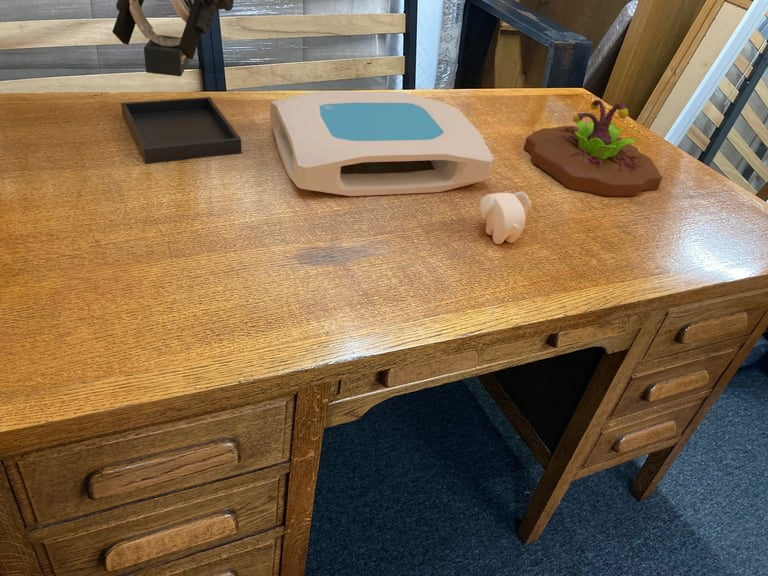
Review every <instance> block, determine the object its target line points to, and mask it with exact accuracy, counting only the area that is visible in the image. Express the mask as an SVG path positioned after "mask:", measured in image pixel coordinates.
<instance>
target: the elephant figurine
mask: <svg viewBox="0 0 768 576" xmlns="http://www.w3.org/2000/svg"><path fill="white" fill-rule="evenodd" d="M531 208H532V203H531V200H530V198H529V196H528V194H526V192H524V191H522V190H521V191H517V192H516V193H511V192H494V193H487V194H486V195H484V196H483V197H482V198H481V199H480V202H479V207H478V209H479V213H480V216H481V217H482V219H485V218H486V224H485V225H486V226H485V233H486V235H488V236H492V241H493V243H494V244H495V245H501V244H503V243H504V241H506V242H507V243H508V244H513V243H515V242H516V241H517V240H518V239H519V237H520V236H521V234H522V233H523V231H524V228H525V226H526V225H525V224H526V215H527V214H528V213H529V212H530V211H531Z"/></svg>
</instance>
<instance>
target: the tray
mask: <svg viewBox="0 0 768 576" xmlns="http://www.w3.org/2000/svg"><path fill="white" fill-rule="evenodd" d="M120 107H121V115H122V118H123V120H124V122H125V124H126V125H127V128H128V130H129V132H130V134H131V137H132V139H133V141H134V142H135V145H136V148H137V149H138V151H139V153H140V155H141V157H142V159H143V162H144V163H145V164H154V163H163V162H170V161H171V162H172V161H179V160H188V159H198V158H206V157H207V158H208V157H216V156H224V155H232V154H233V155H234V154H242V139H241V137H240V136H239V134H238V133H237V132H236V130H235V129H234V127H233V126H232V125H231V123H230V122H229V120H228V119H227V118H226V117H225V115H224V114H223V112H222V111H221V110H220V108H219V107H218V106H217V105H216V103H215V101H214V100H213V99H212V98H211V96H206V97H204V96H203V97H188V98H176V99H175V98H173V99H159V100H145V101H131V102H120Z"/></svg>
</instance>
